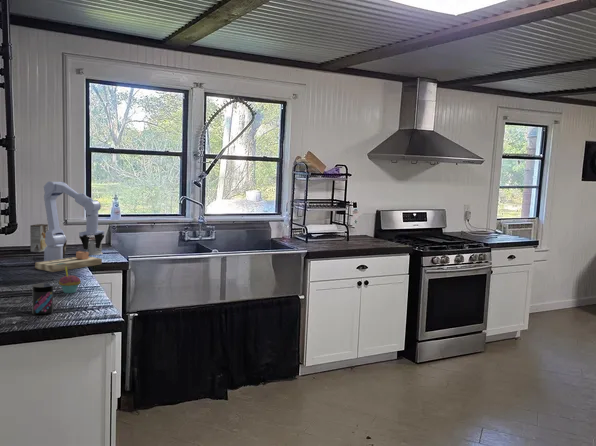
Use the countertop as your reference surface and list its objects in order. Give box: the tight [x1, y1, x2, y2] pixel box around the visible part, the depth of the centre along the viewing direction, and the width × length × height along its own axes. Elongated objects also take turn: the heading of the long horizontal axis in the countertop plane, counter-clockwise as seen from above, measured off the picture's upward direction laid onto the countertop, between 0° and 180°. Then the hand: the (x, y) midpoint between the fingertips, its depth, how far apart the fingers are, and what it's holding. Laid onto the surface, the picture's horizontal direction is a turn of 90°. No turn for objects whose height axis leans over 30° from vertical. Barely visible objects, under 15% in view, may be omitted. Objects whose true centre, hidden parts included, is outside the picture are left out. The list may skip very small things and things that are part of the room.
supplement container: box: [31, 282, 54, 317], centre depth 186 cm, size 7×7×10 cm
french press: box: [87, 228, 104, 256], centre depth 315 cm, size 10×12×25 cm
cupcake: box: [58, 265, 82, 294], centre depth 219 cm, size 9×8×12 cm
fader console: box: [34, 256, 103, 273], centre depth 274 cm, size 14×30×3 cm, turn 152°
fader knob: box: [75, 250, 90, 259], centre depth 281 cm, size 5×4×4 cm
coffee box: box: [29, 223, 49, 253], centre depth 316 cm, size 9×6×16 cm
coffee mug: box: [63, 239, 68, 259], centre depth 298 cm, size 12×9×10 cm
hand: (91, 248), depth 275 cm, fingers open, 7 cm apart
